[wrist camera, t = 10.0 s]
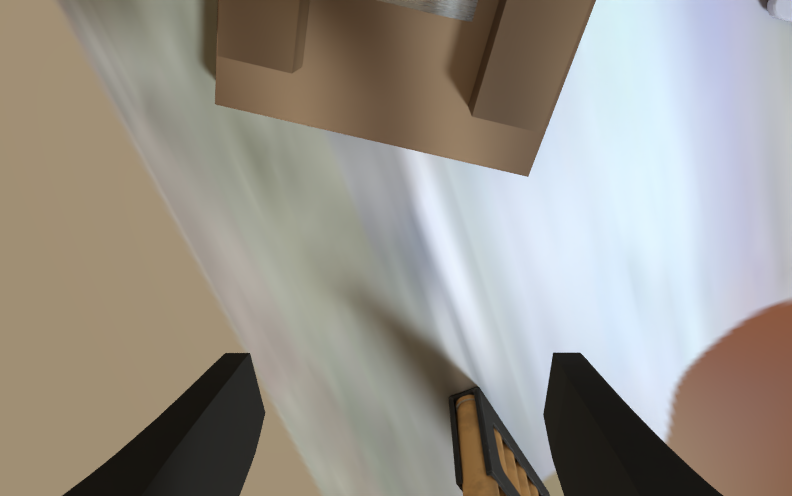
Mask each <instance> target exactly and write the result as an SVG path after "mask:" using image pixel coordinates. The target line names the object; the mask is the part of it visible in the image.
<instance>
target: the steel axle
mask: <svg viewBox="0 0 792 496" xmlns="http://www.w3.org/2000/svg"><path fill="white" fill-rule="evenodd" d="M379 1H383V2H387V3H391V4H395V5H399V6H403V7H407V8H411V9H415V10H419V11H423V12H427V13H432V14H436V15H440V16H445V17H449V18H454V19H459V20H464V21H470V22H472V21H473V17H474V13H475V10H476V6H477V2H478V0H379Z"/></svg>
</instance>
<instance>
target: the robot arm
mask: <svg viewBox="0 0 792 496" xmlns="http://www.w3.org/2000/svg"><path fill="white" fill-rule="evenodd" d="M767 11H768V13H769V15H771V16H772V17H774V18H778V19H781V20H785V21H789V22H792V0H769V1H768V4H767ZM543 415H544V420H545V425H546V431H547V436H548V441H549V445H550V450H551V455H552V459H553V462H554V465H555V468H556V471H557V475H558V478H559V481H560V483H561V487H562V490H563V493H564V496H723V495H722V494H720V493H719V492H718V491H717V490H716V489H714V488H713V487H712V486H711V485H710V484H708V483H707V482H706V481H705V480H704V479H703V478H702V477H701V476H699V475H698V474H697V473H696V472H695V471H694V470H693V469H691V467H689V466H688V465H687V464H686V463H685V462H684V461H683V460H682V459H681V458H680V457H679V456H678V455H677V454H676V453H675V452H674V451H672V449H670V448H669V447H668V446H667V445H666V444H665V443H664V442H663V441H662V440H661V439H660V438H659V437H658V436H657V435H656V434H655V433H654V432H653V431H652V430H651V429H650V428H649V427H648V426H647V425H646V424H645V422H644V421H643V420H642V419H641V418H640V417H639V416H638V415H637V414H636V413H635V412H634V411H633V410H632V409H631V408H630V407H629V406H628V405H627V404H626V403H625V402H624V401H623V399H622V398H621V397H620V396H619V395H618V394H617V393H616V392H615V391H614V390H613V388H612V387H611V386H610V385H609V384H608V383H607V382H606V381H605V380H604V378H603V377H602V376H601V375H600V374H599V373H598V372H597V371H596V369H595V368H594V367H593V366H592V365H591V364H590V363H589V362H588V360H587V359H586V358H585V357H584V356H583V355H582V354H581V353H553V358H552V364H551V370H550V377H549V383H548V389H547V395H546V402H545V408H544V414H543ZM264 416H265V410H264V406H263V402H262V399H261V394H260V390H259V387H258V383H257V379H256V375H255V371H254V367H253V363H252V359H251V355H250V353H225V354H224V355H223V356H222V357H221V358H220V359H219V360H218V361H216V363H214V364H213V365H212V366H211V367H210V368H209V369H208V370H207V371H206V372H205V373H204V374H203V375H202V376H201V377H200V378H199V379H198V380H197V381H196V382H195V383H194V384H193V385H192V386H191V387H190V388H189V389H187V390H186V391H185V392H184V393H183V394H182V395H181V396H180V397H179V398H178V399H177V400H176V401H175V402H174V403H173V404H172V405H170V406H169V407H168V408H167V409H166V410H165V411H164V412H163V413H162V414H161V415H160V416H159V417H158V418H157V419H155V420H154V421H153V422H152V423H151V424H150V425H149V426H148V427H146V428H145V429H144V430H143V431H142V432H141V433H139V434H138V435H137V436H136V437H135V438H134V439H133V440H131V441H130V442H129V443H128V444H127V445H126V446H124V447H123V448H122V449H121V450H120V451H119V452H118V453H116V455H114V456H113V457H112V458H110V459H109V460H108V461H107V462H106V463H104V464H103V465H102V466H100V467H99V468H98V469H97V470H95V471H94V472H93V473H92V474H90V475H89V476H88V477H86V478H85V479H84V480H82V481H81V482H80V483H79V484H77V485H76V486H75V487H73V488H72V489H71V490H70V491H68V492H67V493H65V494H64V495H63V496H239V495H240V493H241V490H242V487H243V485H244V482H245V479H246V477H247V474H248V472H249V469H250V466H251V464H252V461H253V458H254V455H255V452H256V448H257V444H258V441H259V437H260V433H261V429H262V424H263V420H264Z"/></svg>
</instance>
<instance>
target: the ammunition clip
mask: <svg viewBox="0 0 792 496" xmlns="http://www.w3.org/2000/svg"><path fill="white" fill-rule="evenodd" d="M449 407H450V418H451V430H452V441H453V453H454V464H455V476H456V484H457V485H458V486H459V488H460V489H461V490H462V491H463V496H550V495H549V492H548V490H547V489H546V487H545V486H544V484H543V483H542V481H541V480H540V478H539V477H538V475H537V474H536V472H535V471H534V469H533V468H532V466H531V465H530V463H529V462H528V460H527V459H526V457H525V456H524V454H523V453H522V451H521V450H520V448H519V447H518V445H517V444H516V442H515V441H514V439H513V438H512V436H511V435H510V433H509V432H508V430H507V428H506V427H505V425H504V424H503V422H502V421H501V419H500V418H499V416H498V415H497V413H496V412H495V410H494V409H493V407H492V406H491V404H490V403H489V401H488V400H487V398H486V397H485V395H484V394H483V392H482V391H481V389H480V388H474V389H471V390H468V391H466V392H463V393H460V394H457V395H455V396H452V397H449Z"/></svg>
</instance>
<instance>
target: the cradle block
mask: <svg viewBox="0 0 792 496" xmlns="http://www.w3.org/2000/svg"><path fill="white" fill-rule="evenodd" d="M595 1H596V0H478V2H477V6H476V10H475V13H474V17H473V21H472V22H470V21H464V20H459V19H454V18H449V17H445V16H440V15H436V14H432V13H427V12H423V11H419V10H415V9H411V8H407V7H403V6H399V5H395V4H391V3H387V2H383V1H379V0H218V15H217V53H216V90H215V104H216V105H221V106H225V107H229V108H234V109H238V110H242V111H247V112H251V113H255V114H260V115H264V116H268V117H273V118H277V119H281V120H285V121H290V122H294V123H298V124H303V125H307V126H311V127H316V128H320V129H324V130H329V131H333V132H337V133H342V134H346V135H350V136H355V137H359V138H363V139H368V140H372V141H376V142H381V143H385V144H389V145H393V146H398V147H402V148H406V149H411V150H415V151H419V152H424V153H428V154H432V155H437V156H441V157H445V158H450V159H454V160H458V161H463V162H467V163H471V164H476V165H480V166H484V167H488V168H493V169H497V170H501V171H506V172H510V173H514V174H519V175H523V176H527V177H528V176H529V173H530V170H531V168H532V165H533V163H534V160H535V157H536V155H537V152H538V150H539V147H540V144H541V142H542V139H543V137H544V134H545V131H546V129H547V126H548V124H549V121H550V118H551V116H552V113H553V111H554V108H555V105H556V103H557V100H558V98H559V95H560V92H561V90H562V87H563V85H564V82H565V79H566V77H567V74H568V72H569V69H570V66H571V64H572V61H573V59H574V56H575V53H576V51H577V48H578V46H579V43H580V40H581V38H582V35H583V33H584V30H585V27H586V25H587V22H588V20H589V17H590V14H591V12H592V9H593V6H594V4H595Z"/></svg>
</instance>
